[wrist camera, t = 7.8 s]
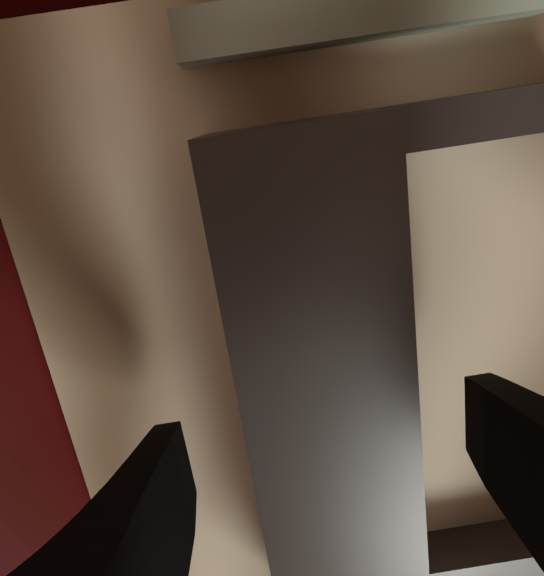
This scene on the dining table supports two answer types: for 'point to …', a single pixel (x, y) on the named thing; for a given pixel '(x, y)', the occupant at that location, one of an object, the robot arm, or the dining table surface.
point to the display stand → (191, 235)
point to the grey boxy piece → (341, 331)
